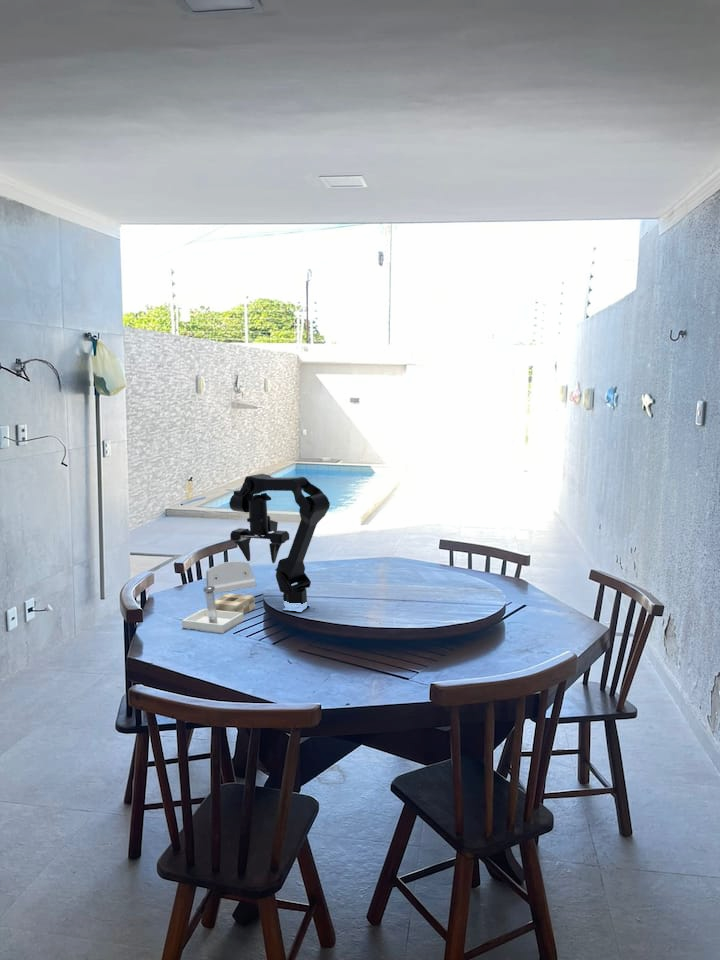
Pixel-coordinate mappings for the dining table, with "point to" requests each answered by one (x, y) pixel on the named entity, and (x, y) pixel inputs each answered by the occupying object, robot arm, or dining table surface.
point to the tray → (223, 624)
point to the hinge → (230, 576)
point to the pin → (211, 604)
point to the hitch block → (235, 603)
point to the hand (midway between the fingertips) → (261, 561)
